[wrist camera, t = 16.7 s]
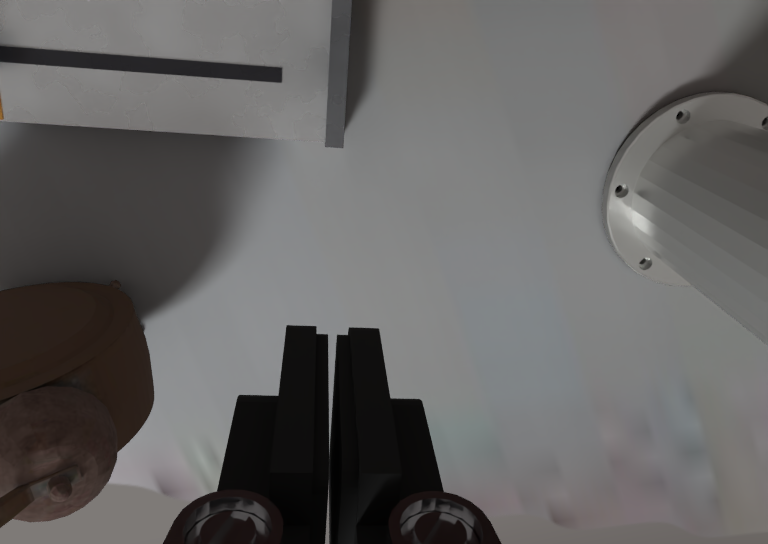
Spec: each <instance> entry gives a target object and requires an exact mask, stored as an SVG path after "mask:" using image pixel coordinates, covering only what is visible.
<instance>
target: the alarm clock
mask: <svg viewBox="0 0 768 544" xmlns="http://www.w3.org/2000/svg"><path fill="white" fill-rule="evenodd" d="M120 287H121V284H120V282H119V281H117V280H114V281H112V282H111V283H110V285H109V286H106V285H102V284H96V283H87V282H59V283H46V284H37V285H30V286H24V287H18V288H13V289H7V290H3V291H0V528H1V527H2V526H3V525H5V524H6V523H7V522H9V521H10V520H11V519H16V520H21V521H27V522H41V521H51V520H54V519H58V518H61V517H65V516H68V515H70V514H72V513H73V512H75V511H77V510H79V509H81V508H83V507H84V506H85V505H87V504H88V503H89V502H90V501H91V500H93V499H94V498H95V497H96V496H97V495H98V494H99V493H100V491H101V490H102V489H103V488H104V486H105V485H106V484H107V482H108V481H109V479H110V477H111V474H112V471H113V469H114V466H115V463H116V460H117V452H118V451H119V450H121V449H122V448H123V447H124V446H125V445H126V444H127V443H128V442H129V441H130V440H131V439H132V438H133V437H134V436H135V435H136V434H137V432H138V431H139V430H140V429H141V427H142V426H143V424H144V423H145V421H146V420H147V418H148V416H149V414H150V412H151V409H152V406H153V402H154V386H153V377H152V370H151V362H150V354H149V350H148V346H147V342H146V338H145V335H144V332H143V330H142V327H141V325H140V322H139V320H138V317H137V315H136V312H135V309H134V306H133V303H132V301H131V299H130V298H129V297H128V296H127V295H126V294H125V293H124V292H122V291H120V290H118V289H119V288H120Z"/></svg>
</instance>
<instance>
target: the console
mask: <svg viewBox="0 0 768 544" xmlns="http://www.w3.org/2000/svg"><path fill="white" fill-rule="evenodd" d="M351 8H352V0H0V121H6V122H21V123H37V124H52V125H67V126H83V127H98V128H113V129H129V130H144V131H159V132H175V133H190V134H205V135H221V136H236V137H251V138H267V139H282V140H297V141H313V142H325V147H335V148H343V144H344V127H345V110H346V93H347V76H348V59H349V42H350V25H351Z"/></svg>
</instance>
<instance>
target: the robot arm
mask: <svg viewBox="0 0 768 544" xmlns="http://www.w3.org/2000/svg"><path fill="white" fill-rule="evenodd" d="M678 112H679V116H678V117H677V118H676V116H677V114H678ZM618 186H619V189H618V190H616V188H617V187H618ZM615 190H616V191H615ZM602 216H603V224H604V228H605V231H606V234H607V237H608V240H609V242H610V244H611V245H612V247H613V248H614V250H615V252H616V253H617V255H618V256H619V257H620V258H621V259H622V260H623V261H624V262H625V263H626V264H627V265H628V266H629V267H631V268H632V269H633V270H634V271H635V272H637V273H638V274H639V275H641V276H643V277H645V278H648V279H650V280H652V281H654V282H657V283H662V284H666V285H670V286H694V287H695V288H696V289H697V290H699V291H700V292H701V293H702V294H704V295H705V296H706V297H707V298H709V299H710V300H711V301H712V302H714V303H715V304H716V305H717V306H719V307H720V308H721V309H722V310H724V311H725V312H726V313H727V314H728V315H730V316H731V317H732V318H733V319H735V320H736V321H737V322H738V323H740V324H741V325H742V326H743V327H745V328H746V329H747V330H748V331H750V332H751V333H752V334H753V335H755V336H756V337H757V338H758V339H760V340H761V341H762V342H763V343H765V344H766V345H767V346H768V105H767V104H765V103H763V102H761V101H759V100H756V99H754V98H752V97H749V96H745V95H741V94H736V93H728V92H708V93H700V94H695V95H692V96H689V97H685V98H682V99H679V100H677V101H675V102H673V103H671V104H669V105H667V106H665V107H663V108H661V109H659V110H658V111H657V112H655V113H654V114H653V115H651V116H650V117H649V118H647V119H646V120H645V121H644V122H642V123H641V124H640V125H639V126H638V127H637V129H636V130H635V131H634V132H633V133H632V134H631V135H630V136H629V137H628V138H627V140H626V141H625V143H624V144H623V145H622V147H621V148H620V150H619V151H618V153H617V154H616V156H615V158H614V161H613V163H612V165H611V167H610V169H609V171H608V174H607V178H606V182H605V185H604V189H603V198H602ZM641 260H642V261H641ZM328 485H329V534H330V535H329V540H330V541H329V542H330V544H502V543H501V542H500V540H499V538H498V536H497V534H496V532H495V530H494V528H493V526H492V524H491V522H490V521H489V519H488V518H487V516H486V515H485V514H484V512H483V511H482V510H481V509H480V508H478V507H477V506H476V505H474V504H473V503H472V502H471V501H469V500H466V499H464V498H462V497H460V496H458V495H455V494H451V493H447V492H444V491H443V487H442V482H441V478H440V474H439V470H438V466H437V461H436V457H435V453H434V449H433V445H432V441H431V436H430V432H429V428H428V424H427V420H426V415H425V411H424V407H423V404H422V401H421V400H420V399H391V398H390V394H389V388H388V381H387V375H386V369H385V363H384V357H383V350H382V344H381V338H380V332H379V329H378V328H349V331H348V335H337V343H336V359H335V375H334V391H333V407H332V423H331V439H330V455H329V392H328V335H327V334H316V326H292V325H287V327H286V335H285V344H284V353H283V362H282V370H281V379H280V388H279V396H261V395H239V396H238V398H237V402H236V406H235V411H234V416H233V420H232V425H231V430H230V434H229V439H228V443H227V448H226V453H225V457H224V462H223V467H222V471H221V476H220V480H219V485H218V490H217V492H213V493H209V494H207V495H205V496H202V497H200V498H198V499H196V500H194V501H193V502H191V503H190V504H189V505H188V506H186V507H185V508H184V509H182V511H181V512H180V514H179V515H178V516H177V518H176V519H175V520H174V522H173V524H172V526H171V528H170V530H169V532H168V534H167V536H166V538H165V540H164V542H163V544H325V534H326V518H327V502H328Z"/></svg>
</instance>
